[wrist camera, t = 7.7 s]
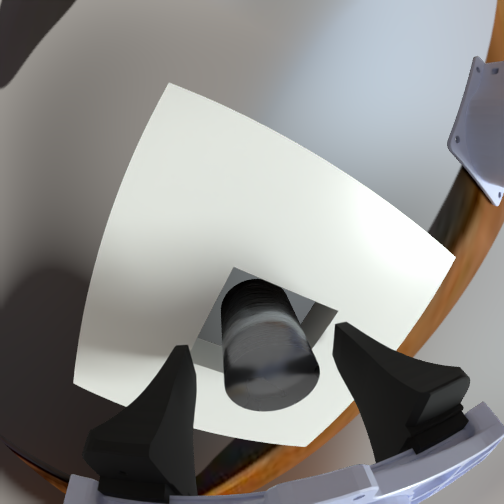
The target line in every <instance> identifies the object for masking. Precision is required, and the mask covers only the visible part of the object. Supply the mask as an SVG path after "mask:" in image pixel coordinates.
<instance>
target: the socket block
mask: <svg viewBox="0 0 504 504" xmlns="http://www.w3.org/2000/svg"><path fill="white" fill-rule="evenodd" d="M455 258H456V257H455V256H454V255H453V254H451V253H450V252H449V251H448V250H447V249H446V248H445V247H443V246H442V245H441V244H440V243H439V242H438V241H436V240H435V239H434V238H433V237H432V236H430V235H429V234H428V233H427V232H426V231H424V230H423V229H422V228H421V227H419V226H418V225H417V224H416V223H414V222H413V221H412V220H411V219H409V218H408V217H407V216H405V215H404V214H403V213H402V212H400V211H399V210H398V209H396V208H395V207H394V206H392V205H391V204H389V203H388V202H387V201H385V200H384V199H383V198H381V197H380V196H379V195H377V194H376V193H374V192H373V191H371V190H370V189H368V188H367V187H366V186H364V185H363V184H361V183H360V182H358V181H357V180H355V179H354V178H352V177H351V176H349V175H348V174H346V173H345V172H343V171H341V170H340V169H338V168H337V167H335V166H334V165H332V164H331V163H329V162H327V161H326V160H324V159H322V158H321V157H319V156H318V155H316V154H314V153H313V152H311V151H309V150H307V149H306V148H304V147H302V146H301V145H299V144H297V143H296V142H293V141H292V140H290V139H288V138H287V137H285V136H283V135H281V134H279V133H277V132H276V131H274V130H272V129H270V128H268V127H266V126H264V125H262V124H260V123H258V122H256V121H255V120H253V119H250V118H248V117H247V116H244V115H242V114H240V113H238V112H236V111H234V110H232V109H230V108H228V107H226V106H223V105H221V104H219V103H217V102H215V101H212V100H210V99H208V98H205V97H203V96H201V95H198V94H196V93H193V92H191V91H189V90H186V89H184V88H181V87H179V86H176V85H174V84H171V83H169V84H168V86H167V88H166V89H165V91H164V93H163V94H162V96H161V98H160V100H159V102H158V104H157V106H156V108H155V110H154V112H153V114H152V115H151V117H150V120H149V122H148V124H147V125H146V128H145V130H144V132H143V134H142V136H141V138H140V140H139V142H138V145H137V147H136V149H135V151H134V154H133V156H132V159H131V161H130V163H129V165H128V168H127V170H126V173H125V175H124V178H123V180H122V183H121V185H120V188H119V191H118V193H117V196H116V199H115V201H114V204H113V207H112V210H111V213H110V216H109V219H108V222H107V225H106V228H105V231H104V234H103V237H102V241H101V244H100V248H99V251H98V255H97V258H96V262H95V266H94V269H93V274H92V277H91V281H90V285H89V290H88V294H87V299H86V303H85V308H84V313H83V319H82V324H81V330H80V336H79V342H78V349H77V356H76V364H75V373H74V384H76V385H78V386H80V387H82V388H84V389H86V390H88V391H91V392H93V393H95V394H97V395H99V396H102V397H104V398H106V399H109V400H111V401H114V402H116V403H119V404H121V405H124V406H126V407H127V406H128V405H129V404H131V403H132V402H133V401H134V400H135V399H136V398H137V397H138V396H139V395H140V394H141V393H142V392H143V391H144V390H145V388H146V387H147V386H148V385H149V384H150V382H151V381H152V380H153V378H154V377H155V376H156V375H157V373H158V372H159V370H160V369H161V367H162V366H163V364H164V363H165V361H166V360H167V358H168V357H169V355H170V353H171V352H172V350H173V348H174V347H175V346H176V345H188V346H189V350H190V354H191V357H192V361H193V364H194V368H195V371H196V377H197V396H196V406H195V415H194V425H193V428H195V429H199V430H203V431H207V432H211V433H216V434H221V435H225V436H230V437H235V438H240V439H246V440H252V441H259V442H265V443H273V444H281V445H291V446H302V447H306V446H307V445H308V444H309V443H310V442H311V441H313V440H314V439H315V438H316V437H317V436H318V435H319V434H320V433H321V432H322V431H324V430H325V429H326V428H327V427H328V426H329V425H330V424H331V423H332V422H333V421H334V420H335V419H336V418H337V417H338V416H339V415H340V414H341V413H342V412H343V411H344V410H345V409H346V408H347V407H348V406H349V405H350V404H351V403H352V402H353V401H354V399H353V397H352V395H351V393H350V392H349V390H348V388H347V386H346V384H345V382H344V381H343V379H342V377H341V375H340V373H339V371H338V369H337V367H336V364H335V361H334V358H333V356H332V351H333V341H334V330H335V324H337V323H341V322H348V323H349V324H351V325H353V326H354V327H356V328H357V329H359V330H360V331H362V332H363V333H365V334H366V335H368V336H370V337H371V338H373V339H374V340H376V341H378V342H380V343H381V344H383V345H385V346H387V347H389V348H391V349H393V350H395V351H396V350H397V348H398V347H399V346H400V344H401V343H402V342H403V340H404V339H405V338H406V336H407V335H408V334H409V332H410V331H411V329H412V328H413V327H414V325H415V324H416V322H417V321H418V319H419V318H420V316H421V315H422V313H423V312H424V310H425V309H426V307H427V306H428V304H429V303H430V301H431V299H432V298H433V296H434V295H435V293H436V291H437V290H438V288H439V286H440V285H441V283H442V281H443V279H444V278H445V276H446V274H447V272H448V271H449V269H450V267H451V265H452V263H453V261H454V260H455ZM233 267H235V268H237V269H240V270H242V271H244V272H247V273H249V274H252V275H254V276H256V277H258V278H261V279H263V280H265V281H268V282H270V283H272V284H275V285H277V286H280V287H282V288H284V289H287V290H289V291H291V292H294V293H297V294H299V295H301V296H303V297H306V298H308V299H311V300H313V301H316V302H315V304H314V305H313V307H312V308H311V310H310V311H309V313H308V314H307V316H306V317H305V319H304V320H303V322H302V323H301V327H302V329H303V331H304V334H305V336H306V338H307V340H308V342H309V344H310V347H311V349H312V351H313V353H314V355H315V357H316V360H317V362H318V364H319V368H320V376H319V380H318V383H317V384H316V386H315V388H314V389H313V391H312V392H311V393H310V394H309V395H308V396H307V397H305V398H304V399H303V400H301V401H300V402H298V403H296V404H294V405H292V406H290V407H287V408H284V409H281V410H276V411H266V412H261V411H252V410H248V409H245V408H242V407H240V406H238V405H237V404H235V403H234V402H233V401H232V400H231V399H230V398H229V397H228V395H227V393H226V391H225V386H224V369H223V349H222V346H220V345H217V344H215V343H212V342H209V341H206V340H203V339H200V338H198V335H199V333H200V331H201V329H202V327H203V325H204V323H205V321H206V320H207V318H208V316H209V314H210V312H211V310H212V308H213V306H214V304H215V302H216V300H217V298H218V296H219V294H220V292H221V290H222V288H223V287H224V285H225V283H226V281H227V279H228V277H229V275H230V273H231V271H232V269H233Z"/></svg>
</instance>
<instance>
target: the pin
mask: <svg viewBox="0 0 504 504" xmlns="http://www.w3.org/2000/svg"><path fill="white" fill-rule="evenodd" d="M221 324H222V349H223V369H224V386H225V391H226V393H227V395H228V397H229V398H230V399H231V400H232V401H233V402H234V403H235V404H237V405H238V406H240V407H242V408H245V409H248V410H252V411H261V412H266V411H276V410H281V409H284V408H287V407H290V406H292V405H294V404H296V403H298V402H300V401H301V400H303V399H304V398H305V397H307V396H308V395H309V394H310V393H311V392H312V391H313V389H314V388H315V386H316V384H317V383H318V380H319V376H320V368H319V364H318V362H317V360H316V357H315V355H314V353H313V351H312V349H311V347H310V344H309V342H308V340H307V338H306V336H305V334H304V331H303V329H302V327H301V325H300V323H299V321H298V319H297V316H296V315H295V312H294V310H293V308H292V306H291V304H290V301H289V299H288V297H287V295H286V293H285V292H284V290H283V289H282V288H281V287H280V286H277V285H275V284H272V283H270V282H268V281H265V280H263V279H251V280H246V281H244V282H241V283H239V284H237V285H236V286H234V287H233V288H232V289H231V290H229V291H228V293H227V294H226V296H225V297H224V299H223V302H222V305H221Z"/></svg>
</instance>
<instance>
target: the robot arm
mask: <svg viewBox="0 0 504 504" xmlns="http://www.w3.org/2000/svg"><path fill="white" fill-rule="evenodd" d="M455 137H456V141H455ZM447 146H448V149H449V151H450V152H451V153H452V154H453V155H454V156H455V157H456V159H457V160H458V161H459V162H460V163H461V164H462V165H463V167H464V168H465V169H466V170H467V171H468V173H469V174H470V175H471V176H472V177H473V179H474V180H475V181H476V183H477V184H478V185H479V186H480V188H481V189H482V190H483V192H484V193H485V194H486V196H487V197H488V198H489V200H490V201H491V203H492V204H493V205H494V206H498V205H499V204H500V201H501V198H502V196H503V193H504V61H501V62H494V63H487V64H485V63H484V62H483V61H482V59H481V58H480V57H478V56H476V57H474V58H473V62H472V66H471V70H470V74H469V77H468V81H467V85H466V88H465V92H464V95H463V98H462V102H461V105H460V108H459V111H458V114H457V117H456V120H455V123H454V125H453V128H452V131H451V133H450V136H449V139H448V142H447ZM332 356H333V358H334V361H335V364H336V367H337V369H338V371H339V373H340V375H341V377H342V379H343V381H344V382H345V384H346V386H347V388H348V390H349V392H350V393H351V395H352V397H353V399H354V401H355V402H356V405H357V407H358V409H359V411H360V414H361V417H362V419H363V422H364V425H365V427H366V430H367V433H368V436H369V439H370V443H371V446H372V449H373V453H374V457H375V461H376V464H373V465H370V466H369V465H363V464H358V465H354V466H349V467H346V468H343V469H339V470H336V471H332V472H328V473H325V474H321V475H317V476H312V477H308V478H303V479H299V480H294V481H289V482H286V483H282V484H278V485H276V486H274V487H271V488H269V489H268V490H267V491H264V492H256V493H247V494H236V495H220V496H198V495H197V488H196V479H195V470H194V455H193V454H194V453H193V425H194V415H195V406H196V396H197V377H196V371H195V368H194V364H193V361H192V357H191V354H190V350H189V346H188V345H176V346H175V347H174V348H173V350H172V352H171V353H170V355H169V357H168V358H167V360H166V361H165V363H164V364H163V366H162V367H161V369H160V370H159V372H158V373H157V375H156V376H155V377H154V378H153V380H152V381H151V382H150V384H149V385H148V386H147V387H146V388H145V390H144V391H143V392H142V393H141V394H140V395H139V396H138V397H137V398H136V399H135V400H134V401H133V402H132V403H131V404H129V405H128V406H127V407H126V408H125V409H124V410H122V411H121V412H120V413H118V414H117V415H115V416H114V417H112V418H111V419H109V420H108V421H106V422H105V423H103V424H101V425H99V426H97V427H96V428H94V429H92V430H90V432H89V434H88V437H87V440H86V443H85V446H84V450H83V453H82V456H83V459H84V460H85V461H86V462H87V464H88V465H89V466H90V467H91V468H92V469H93V470H94V471H96V473H97V474H99V475H100V480H99V482H98V481H96V480H94V479H90V478H86V477H82V476H78V475H73V474H72V475H71V477H70V481H69V484H68V488H67V492H66V496H65V501H64V504H418V503H420V502H421V501H423V500H425V499H427V498H428V497H430V496H432V495H433V494H435V493H437V492H438V491H440V490H441V489H443V488H444V487H446V486H447V485H449V484H450V483H452V482H453V481H455V480H456V479H458V478H459V477H461V476H462V475H463V474H465V473H466V472H468V471H469V470H470V469H472V468H473V467H474V466H476V465H477V464H478V463H480V462H481V461H482V460H484V459H485V458H486V457H487V455H489V454H490V452H491V451H492V450H493V449H494V448H495V447H496V446H497V445H498V443H499V442H500V441H501V440H502V439H503V437H504V426H503V424H502V423H501V422H500V420H499V419H498V418H497V417H496V415H495V414H494V413H493V412H492V410H491V409H490V408H489V407H488V406H487V405H486V403H485V402H481V403H480V404H478V405H477V406H475V407H474V408H472V409H471V410H469V411H468V412H467V413H466V414H465V415H464V414H463V412H462V410H463V406H462V405H461V401H462V399H463V397H464V395H465V394H466V392H467V390H468V388H469V384H470V378H469V377H468V376H467V374H466V373H465V372H464V371H463V370H462V369H461V368H460V367H452V366H444V365H438V364H433V363H429V362H425V361H421V360H418V359H415V358H412V357H409V356H406V355H404V354H402V353H399V352H397V351H395V350H393V349H391V348H389V347H387V346H385V345H383V344H381V343H380V342H378V341H376V340H374V339H373V338H371V337H370V336H368V335H366V334H365V333H363V332H362V331H360V330H359V329H357V328H356V327H354V326H353V325H351V324H349V323H348V322H341V323H337V324H335V330H334V341H333V351H332Z"/></svg>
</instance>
